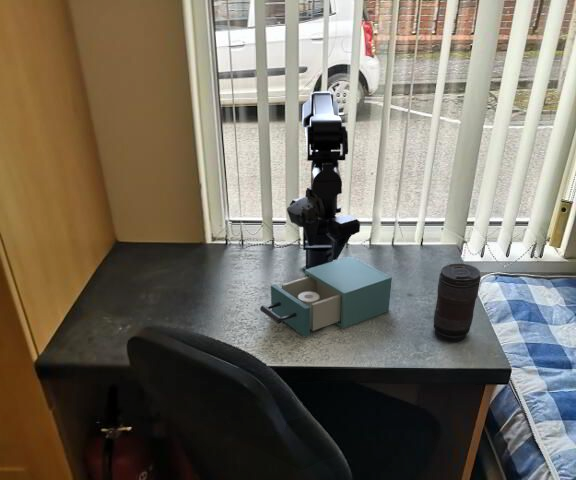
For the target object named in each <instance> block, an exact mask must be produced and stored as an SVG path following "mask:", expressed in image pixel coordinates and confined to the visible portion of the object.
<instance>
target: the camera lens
mask: <svg viewBox="0 0 576 480" xmlns="http://www.w3.org/2000/svg"><path fill="white" fill-rule="evenodd" d="M481 281H482V278H481V271H480V270H479V269H478V268H477V267H475V266H474V265H472V264H466V263H450V264H447V265H444V266H443V267H442V268H441V270H440V272H439V276H438V283H437V295H436V296H437V298H436V303H435V309H434V314H433V328H434V336H435V337H436V338H437V339H439V340H441V341H442V342H446V343H453V344H454V343H461V342H463V341H465V340H466V338H467V335H468V334H469V333H470V329H471V327H472V324H473V319H474V310H475V306H476V301H477V298H478V295H479V290H480V285H481Z"/></svg>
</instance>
